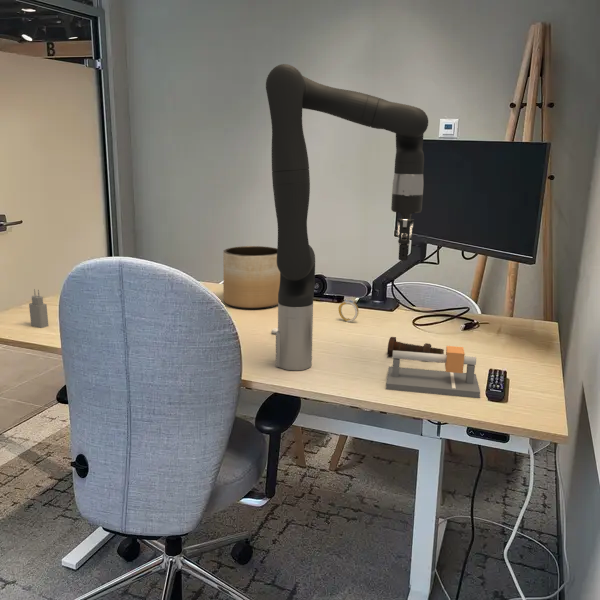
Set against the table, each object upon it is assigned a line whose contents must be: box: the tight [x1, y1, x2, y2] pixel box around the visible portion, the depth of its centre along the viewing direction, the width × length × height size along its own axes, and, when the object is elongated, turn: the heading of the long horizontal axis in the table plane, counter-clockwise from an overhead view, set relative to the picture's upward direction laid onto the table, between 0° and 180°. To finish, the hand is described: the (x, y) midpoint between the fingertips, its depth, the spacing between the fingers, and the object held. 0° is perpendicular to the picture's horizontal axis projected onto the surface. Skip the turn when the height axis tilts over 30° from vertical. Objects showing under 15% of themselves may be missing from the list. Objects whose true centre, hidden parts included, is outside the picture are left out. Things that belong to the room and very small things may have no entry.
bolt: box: [386, 336, 445, 358], centre depth 164 cm, size 6×5×15 cm
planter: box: [222, 245, 280, 310], centre depth 218 cm, size 22×22×20 cm
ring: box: [338, 298, 359, 323], centre depth 197 cm, size 7×3×8 cm, turn 53°
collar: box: [444, 345, 466, 373], centre depth 143 cm, size 4×5×5 cm
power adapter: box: [28, 288, 49, 329], centre depth 186 cm, size 3×5×12 cm, turn 61°
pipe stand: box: [385, 350, 481, 399], centre depth 145 cm, size 22×12×8 cm, turn 79°
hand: (403, 257), depth 148 cm, fingers open, 8 cm apart
